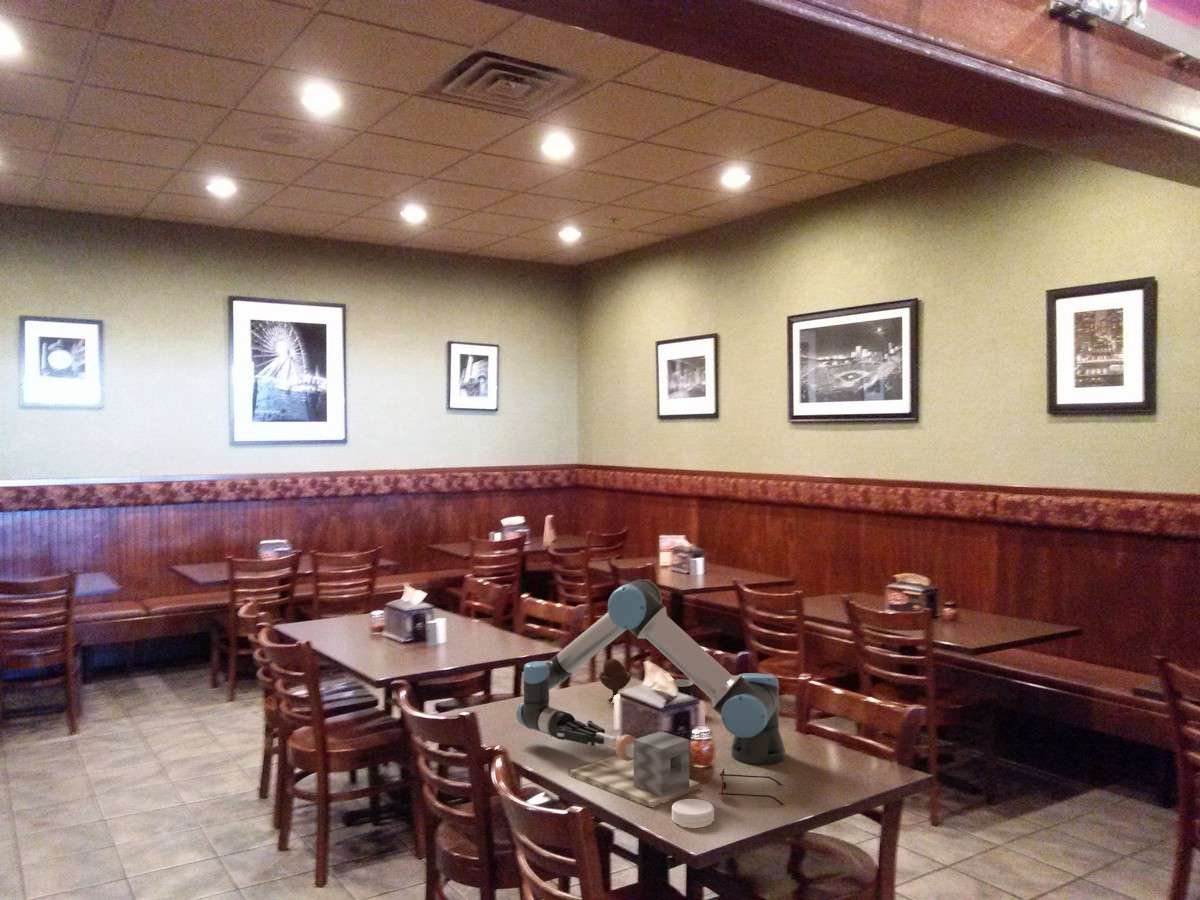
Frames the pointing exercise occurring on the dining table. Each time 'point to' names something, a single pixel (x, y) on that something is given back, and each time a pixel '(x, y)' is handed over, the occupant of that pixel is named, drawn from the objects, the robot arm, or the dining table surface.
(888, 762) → the dining table surface
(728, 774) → the glasses
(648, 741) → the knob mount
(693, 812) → the white jar lid
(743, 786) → the dining table surface
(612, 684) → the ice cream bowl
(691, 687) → the coffee mug
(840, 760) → the dining table surface
